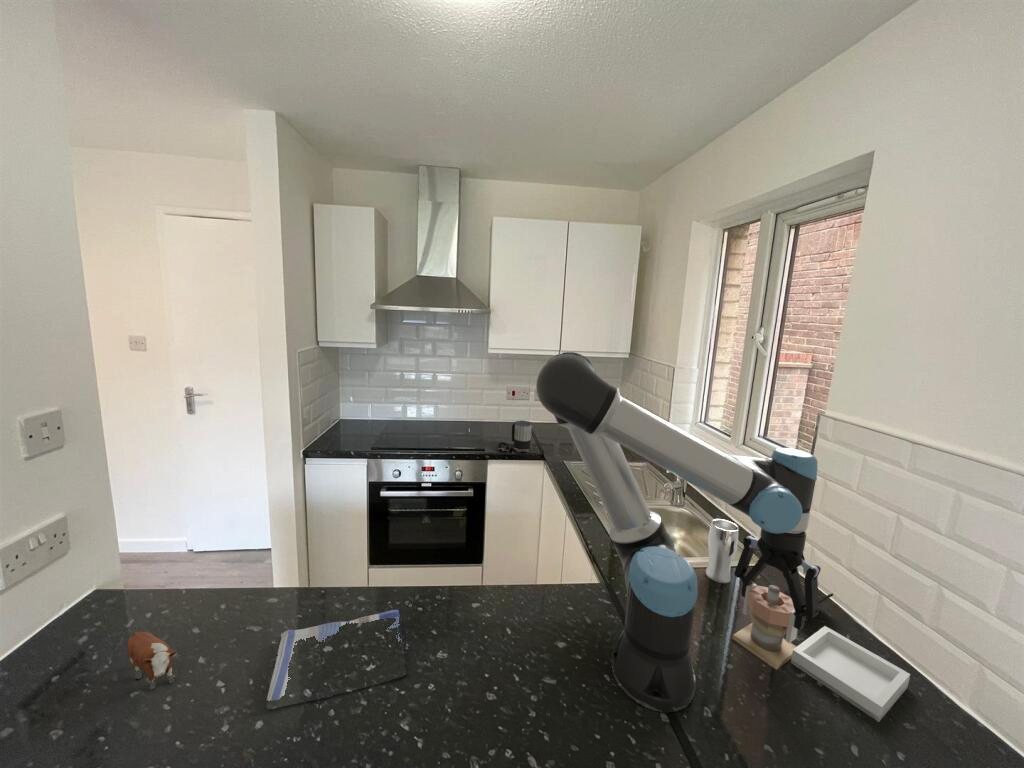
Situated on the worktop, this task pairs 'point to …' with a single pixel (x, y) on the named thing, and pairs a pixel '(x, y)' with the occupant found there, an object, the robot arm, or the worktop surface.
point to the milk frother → (520, 435)
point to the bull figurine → (150, 654)
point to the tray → (851, 671)
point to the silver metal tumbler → (721, 549)
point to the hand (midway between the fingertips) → (768, 625)
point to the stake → (766, 639)
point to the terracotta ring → (770, 606)
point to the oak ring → (768, 626)
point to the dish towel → (319, 632)
